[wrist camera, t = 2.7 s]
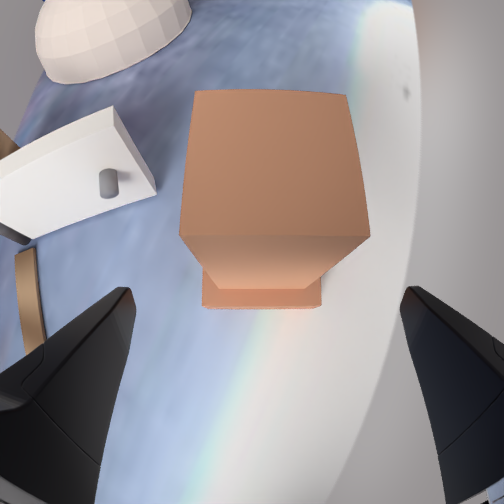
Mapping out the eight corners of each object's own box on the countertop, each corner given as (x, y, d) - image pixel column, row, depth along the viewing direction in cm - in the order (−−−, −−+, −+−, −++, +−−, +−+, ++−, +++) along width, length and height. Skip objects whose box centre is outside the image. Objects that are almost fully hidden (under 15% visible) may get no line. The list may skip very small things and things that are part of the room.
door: (33, 255, 20) (-39, 222, 12) (32, 223, 21) (-33, 182, 13) (160, 212, 21) (114, 147, 13) (154, 177, 22) (113, 105, 14)
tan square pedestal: (313, 308, 20) (406, 272, 8) (207, 308, 20) (139, 272, 7) (308, 209, 22) (366, 79, 9) (210, 209, 22) (170, 74, 9)
